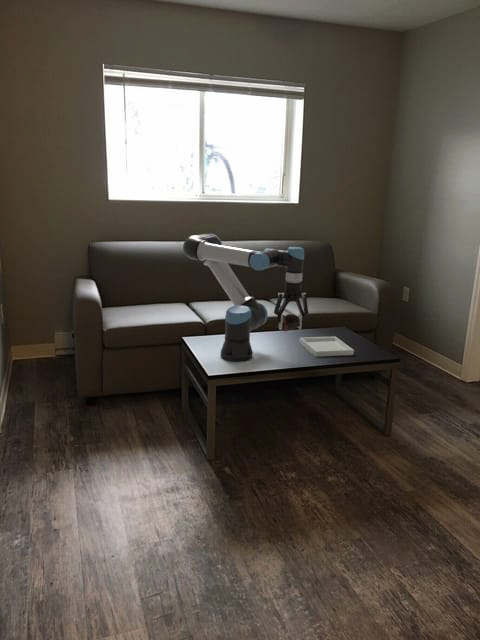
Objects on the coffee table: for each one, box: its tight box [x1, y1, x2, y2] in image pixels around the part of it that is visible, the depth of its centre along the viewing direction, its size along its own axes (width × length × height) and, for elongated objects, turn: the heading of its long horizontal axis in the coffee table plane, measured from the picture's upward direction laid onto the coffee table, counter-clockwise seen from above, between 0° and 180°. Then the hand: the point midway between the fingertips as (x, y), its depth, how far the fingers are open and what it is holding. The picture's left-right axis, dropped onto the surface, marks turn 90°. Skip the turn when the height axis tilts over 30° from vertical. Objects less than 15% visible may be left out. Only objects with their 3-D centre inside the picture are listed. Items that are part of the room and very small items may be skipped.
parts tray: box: [298, 336, 355, 357], centre depth 259 cm, size 20×22×2 cm
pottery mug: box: [282, 313, 302, 332], centre depth 239 cm, size 12×10×8 cm
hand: (289, 328), depth 239 cm, fingers closed on pottery mug, 9 cm apart
